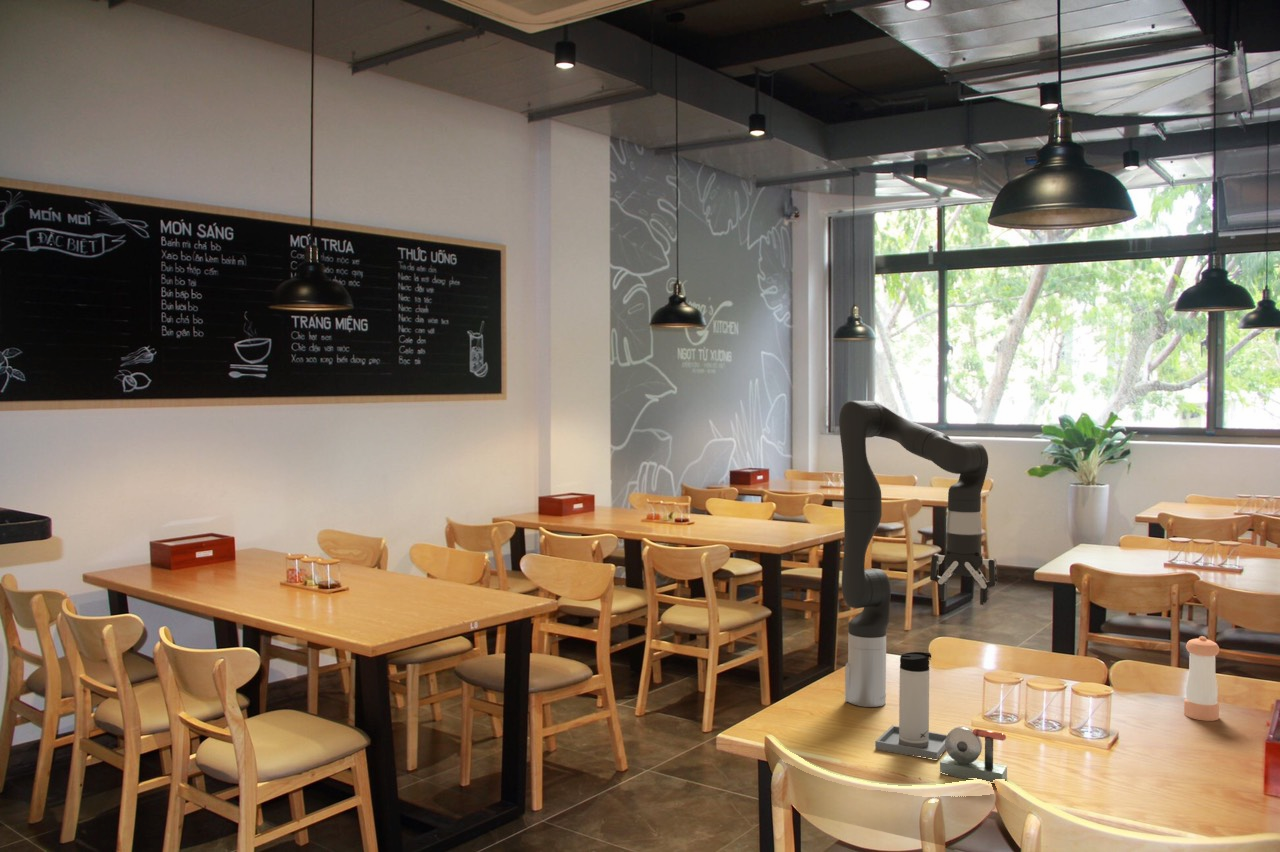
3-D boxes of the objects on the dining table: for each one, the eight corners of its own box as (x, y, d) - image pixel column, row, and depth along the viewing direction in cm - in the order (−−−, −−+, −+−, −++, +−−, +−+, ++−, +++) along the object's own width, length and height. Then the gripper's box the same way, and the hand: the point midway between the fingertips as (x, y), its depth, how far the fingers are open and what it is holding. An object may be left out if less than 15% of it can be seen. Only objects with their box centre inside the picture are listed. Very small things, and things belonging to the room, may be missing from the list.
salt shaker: (1186, 718, 236) (1187, 638, 236) (1182, 709, 243) (1183, 631, 243) (1221, 722, 234) (1222, 641, 233) (1216, 713, 240) (1217, 634, 240)
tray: (875, 749, 216) (875, 741, 216) (892, 733, 226) (892, 725, 226) (936, 761, 209) (937, 752, 209) (951, 743, 219) (951, 735, 219)
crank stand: (939, 773, 202) (940, 727, 201) (946, 766, 206) (946, 720, 206) (1002, 786, 195) (1003, 737, 195) (1008, 777, 200) (1008, 730, 199)
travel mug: (931, 749, 214) (932, 657, 213) (899, 747, 215) (900, 655, 214) (929, 739, 220) (930, 650, 219) (898, 737, 221) (899, 648, 221)
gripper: (1000, 531, 224) (999, 602, 224) (936, 526, 231) (935, 596, 231) (993, 535, 217) (992, 609, 218) (927, 530, 224) (926, 601, 225)
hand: (963, 602), depth 225 cm, fingers open, 8 cm apart
